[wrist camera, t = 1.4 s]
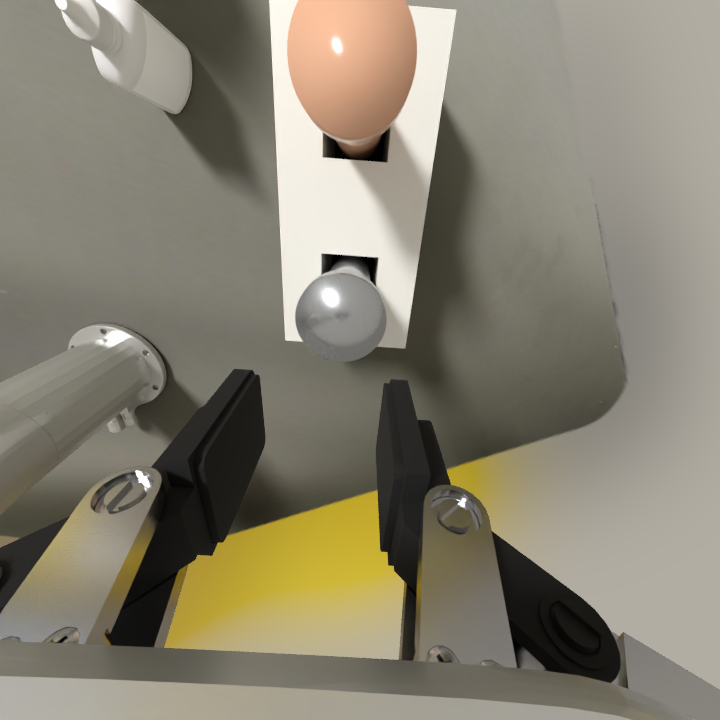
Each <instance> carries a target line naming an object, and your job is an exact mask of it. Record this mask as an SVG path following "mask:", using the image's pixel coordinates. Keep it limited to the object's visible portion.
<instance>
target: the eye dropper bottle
mask: <svg viewBox="0 0 720 720" xmlns="http://www.w3.org/2000/svg"><path fill="white" fill-rule="evenodd" d="M55 3H56V5H57V6H58V7H59V8H60V9H61V10H62V15H63V18H64V20H65V22H66V24H67V26H68V27H69V29H70V30H71V31H72V33H74V35H76V37H78V38H79V39H81V40H83V41H84V42H86V43H88V44H89V45H91V46H92V51H93V55H94V58H95V61H96V64H97V67H98V69H99V71H100V73H101V75H102V76H103V77H104V78H105V79H106V80H108V81H109V82H111V83H112V84H114V85H116V86H118V87H119V88H121V89H123V90H125V91H127V92H129V93H131V94H133V95H135V96H137V97H139V98H141V99H143V100H145V101H147V102H149V103H151V104H153V105H155V106H157V107H159V108H161V109H163V110H165V111H167V112H169V113H172V114H178V113H180V112H181V110H182V109H183V108H184V106H185V104H186V102H187V100H188V97H189V94H190V90H191V85H192V62H191V56H190V53H189V50H188V48H187V47H186V46H185V45H184V44H183V43H182V42H181V41H180V40H179V39H178V38H177V37H175V36H174V35H173V34H172V33H171V32H170V31H169V30H168V29H167V28H166V27H164V26H163V25H162V24H161V23H160V22H159V21H158V20H157V19H156V18H154V17H153V16H152V15H151V14H150V13H149V12H148V11H147V10H145V9H144V8H143V7H142V6H141V5H140V4H138V3H137V2H136V1H135V0H96V1H95V0H55Z"/></svg>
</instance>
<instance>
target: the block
mask: <svg viewBox="0 0 720 720" xmlns="http://www.w3.org/2000/svg"><path fill="white" fill-rule="evenodd" d="M269 2H270V24H271V45H272V66H273V87H274V109H275V130H276V151H277V173H278V194H279V215H280V236H281V258H282V279H283V300H284V322H285V340H288V341H302V339H301V337H300V336H299V333H298V331H297V327H296V322H295V312H296V306H297V303H298V301H299V299H300V297H301V295H302V294H303V292H304V291H305V289H306V288H307V287H308V285H309V284H310V283H311V282H312V281H313V280H314V279H316V278H317V277H318V276H320V275H322V274H324V273H327V272H330V270H331V269H332V254H336V255H350V256H363V257H374V264H373V276H372V283H373V284H374V285H375V286H376V287H377V289H378V290H379V292H380V294H381V296H382V298H383V301H384V305H385V310H386V318H387V322H386V329H385V333H384V336H383V338H382V340H381V341H380V343H379V344H378V346H377V347H389V348H404V349H405V347H406V340H407V334H408V327H409V320H410V314H411V307H412V300H413V294H414V287H415V281H416V274H417V267H418V261H419V254H420V248H421V241H422V234H423V228H424V221H425V214H426V208H427V201H428V195H429V188H430V181H431V175H432V168H433V162H434V155H435V148H436V142H437V135H438V128H439V122H440V115H441V109H442V102H443V95H444V89H445V82H446V76H447V69H448V62H449V56H450V49H451V42H452V36H453V29H454V23H455V16H456V10H450V9H439V8H428V7H417V6H408V7H409V9H410V12H411V15H412V18H413V22H414V26H415V31H416V39H417V63H416V70H415V75H414V79H413V83H412V86H411V89H410V92H409V94H408V97H407V99H406V102H405V105H404V107H403V109H402V111H401V113H400V114H399V116H398V117H397V119H396V120H395V122H394V123H393V124H392V125H391V126H390V128H388V129H387V130H386V131H385V137H384V148H383V160H382V162H374V161H362V160H349V159H337V158H335V139H333V138H331V137H329V136H327V135H326V134H324V133H323V132H322V131H321V130H320V129H319V128H318V127H317V126H316V125H315V124H314V123H313V122H312V120H311V119H310V117H309V116H308V114H307V113H306V111H305V110H304V108H303V106H302V105H301V103H300V101H299V99H298V97H297V95H296V92H295V90H294V87H293V84H292V81H291V77H290V73H289V67H288V57H287V40H288V32H289V26H290V22H291V18H292V15H293V12H294V9H295V6H296V4H297V2H298V0H269ZM302 342H303V341H302Z"/></svg>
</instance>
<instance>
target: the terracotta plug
mask: <svg viewBox="0 0 720 720" xmlns="http://www.w3.org/2000/svg"><path fill="white" fill-rule="evenodd" d="M287 57H288V67H289V73H290V77H291V81H292V84H293V87H294V90H295V92H296V95H297V97H298V99H299V101H300V103H301V105H302V106H303V108H304V110H305V111H306V113H307V114H308V116H309V117H310V119H311V120H312V122H313V123H314V124H315V125H316V126H317V127H318V128H319V129H320V130H321V131H322V132H323V133H324V134H326V135H327V136H329V137H331V138H333V139H335V140H336V142H337V144H338V146H339V148H340V150H341V151H342V152H343V153H344V154H345V155H346V156H348V157H349V158H352V159H356V160H361V159H365V158H367V157H369V156H370V155H372V154H373V153H374V152H375V150H376V149H377V147H378V145H379V143H380V140H381V136H382V134H383V133H384V132H385V131H386V130H387V129H388V128H390V126H391V125H392V124H393V123H394V122H395V120H396V119H397V117H398V116H399V114H400V113H401V111H402V109H403V107H404V105H405V102H406V99H407V97H408V94H409V92H410V89H411V86H412V83H413V79H414V75H415V70H416V63H417V39H416V31H415V26H414V22H413V18H412V15H411V12H410V9H409V7H408V5H407V3H406V0H298V2H297V4H296V6H295V9H294V12H293V15H292V18H291V22H290V26H289V32H288V40H287Z"/></svg>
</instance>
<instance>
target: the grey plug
mask: <svg viewBox="0 0 720 720" xmlns="http://www.w3.org/2000/svg"><path fill="white" fill-rule="evenodd" d="M295 322H296V327H297V331H298V333H299V336H300V337H301V339H302V341H303V342H304V344H305V345H306V346H307V347H308V348H309V349H310V350H311V351H312V352H314V353H315V354H317V355H318V356H320V357H322V358H324V359H327V360H331V361H336V362H349V361H354V360H357V359H360V358H362V357H364V356H366V355H368V354H369V353H371V352H372V351H373V350H374V349H375V348H376V347H377V346H378V344H379V343H380V341H381V340H382V338H383V336H384V333H385V329H386V322H387V318H386V310H385V305H384V301H383V298H382V296H381V294H380V292H379V290H378V289H377V287H376V286H375V285H374V284H373V283H372V282H371V281H370V271H369V268H368V266H367V264H366V263H365V261H364V260H363V259H361V258H360V257H357V256H350V255H346V256H343V257H341V258H339V259H338V260H337V261H336V262H335V263H334V265H333V267H332V269H331V270H330V272H327V273H324V274H322V275H320V276H318V277H317V278H316V279H314V280H313V281H312V282H311V283H310V284H309V285H308V287H307V288H306V289H305V291H304V292H303V294H302V295H301V297H300V299H299V301H298V303H297V306H296V312H295Z"/></svg>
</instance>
